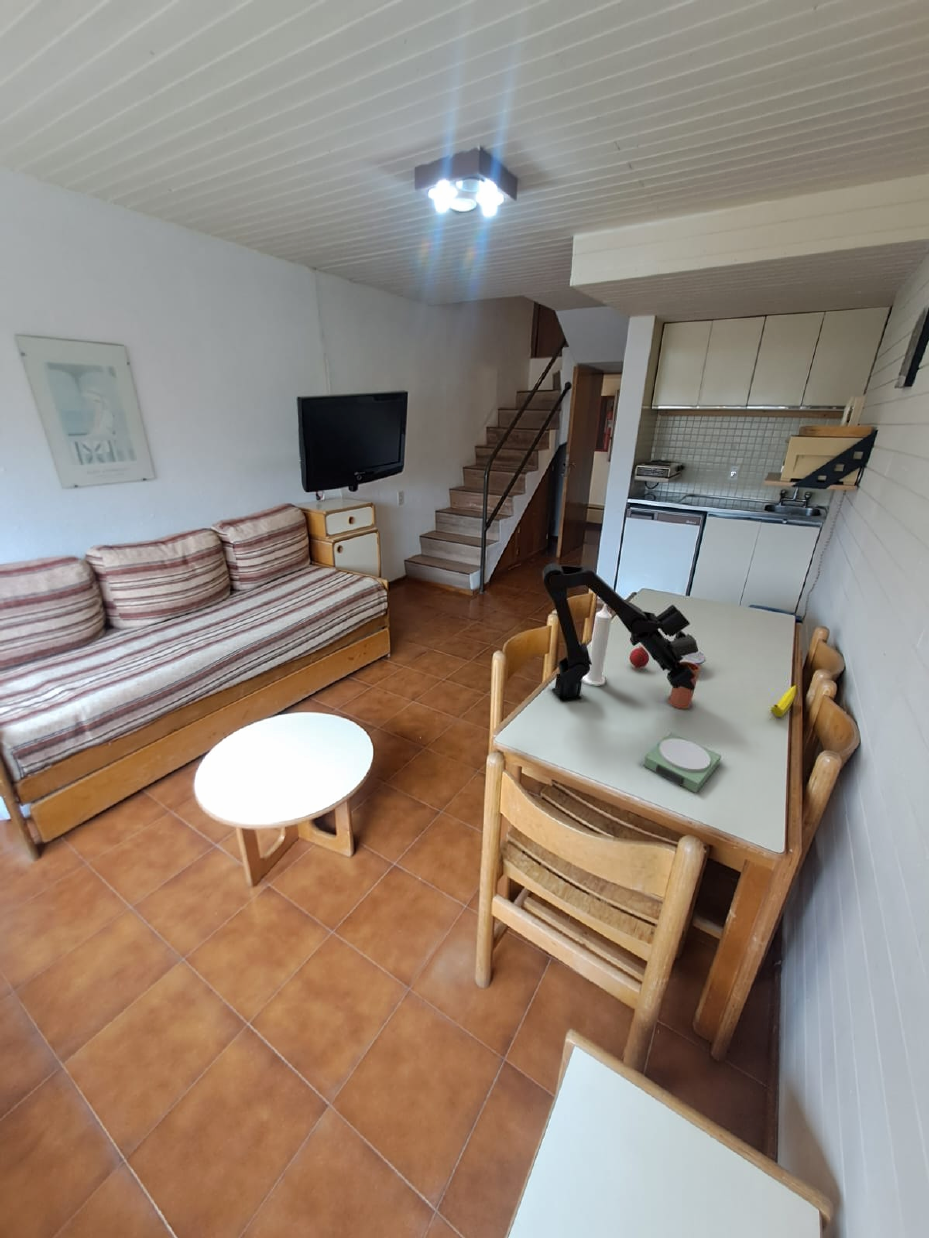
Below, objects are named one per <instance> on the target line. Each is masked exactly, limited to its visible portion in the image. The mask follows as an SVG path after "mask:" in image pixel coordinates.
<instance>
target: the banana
mask: <svg viewBox="0 0 929 1238" xmlns="http://www.w3.org/2000/svg"><path fill="white" fill-rule="evenodd" d="M796 690H797V686H796V685H793V686H791V687H790V688H789V689H788V690H787V691H786V692H785V693H784V694H783V695H782V696H781V698H780V699H779V700H778V702H777V703H776V704H774V705H772V706H771V707H770V713H771V714H772V715H773V716H774V717H777V718H781V717H783V716H784V715H785V714H786V713H787V711H788V710H789V709H790V707H791V706H792V704H793V701H794V699H795V696H796Z"/></svg>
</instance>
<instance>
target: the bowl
mask: <svg viewBox="0 0 929 1238" xmlns="http://www.w3.org/2000/svg"><path fill="white" fill-rule="evenodd" d="M682 658H683V659H682V660H681V661H680V662H682V661H686V662H691V663H694V664H696V665H698V666H699V667H700V666H701V665H703V664H704V663H705V662H707V661H706V660H707V659H706V657H705V655H704V653H702V652H701V651H698V652H697V653H691V654H688V655H685V656H682Z"/></svg>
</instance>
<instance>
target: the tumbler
mask: <svg viewBox="0 0 929 1238" xmlns="http://www.w3.org/2000/svg"><path fill="white" fill-rule="evenodd" d="M680 664H687V665H688V666H689V667H690V669H691V670H692V671H693V673H694V674H695V677H694V678H693V679H691V681H692V683H693V685H694V687H695V689H696V685H697V682H698V677H699V673H700V671H701V670H700V669H701V667H700V666H698V665H696V664H694V663H691V662H686V661H682V662H680ZM677 667H678V666H677ZM695 689H693V690H689V689H687V688H684V687H682V686H680V687H679V688H677V689H674V687H673V686H672V685H671V691H670V696H669V700H668V701H669V704H670V705H672V706H673V707H675V708H677V709H683V710H687V709H690V707H691V706H692V705H691V704H692V700H693V697H694V693H695Z"/></svg>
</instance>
